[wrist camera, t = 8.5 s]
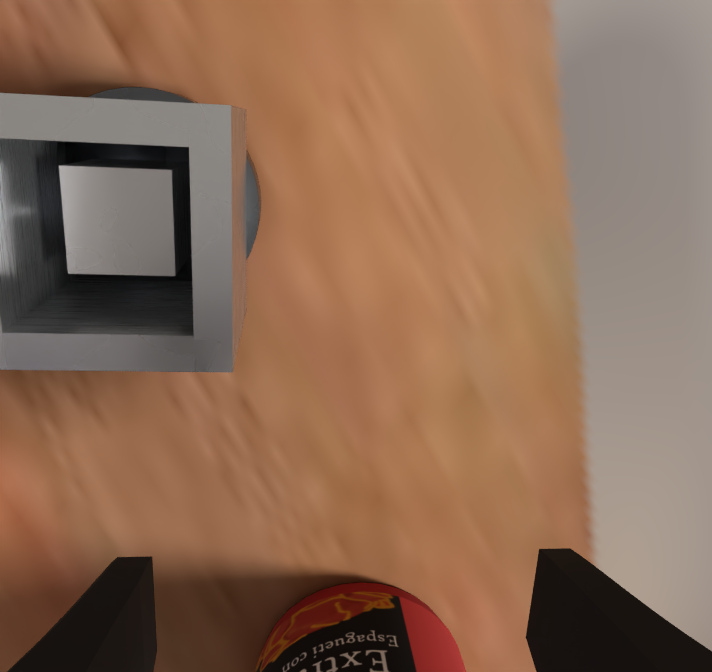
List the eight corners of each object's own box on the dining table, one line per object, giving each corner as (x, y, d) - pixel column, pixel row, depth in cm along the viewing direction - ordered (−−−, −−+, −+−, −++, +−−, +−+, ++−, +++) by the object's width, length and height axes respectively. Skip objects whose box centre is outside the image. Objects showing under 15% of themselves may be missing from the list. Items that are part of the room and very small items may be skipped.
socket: (48, 305, 18) (-35, 369, 14) (28, 98, 17) (-73, 89, 12) (246, 309, 19) (232, 372, 14) (246, 109, 17) (231, 105, 13)
